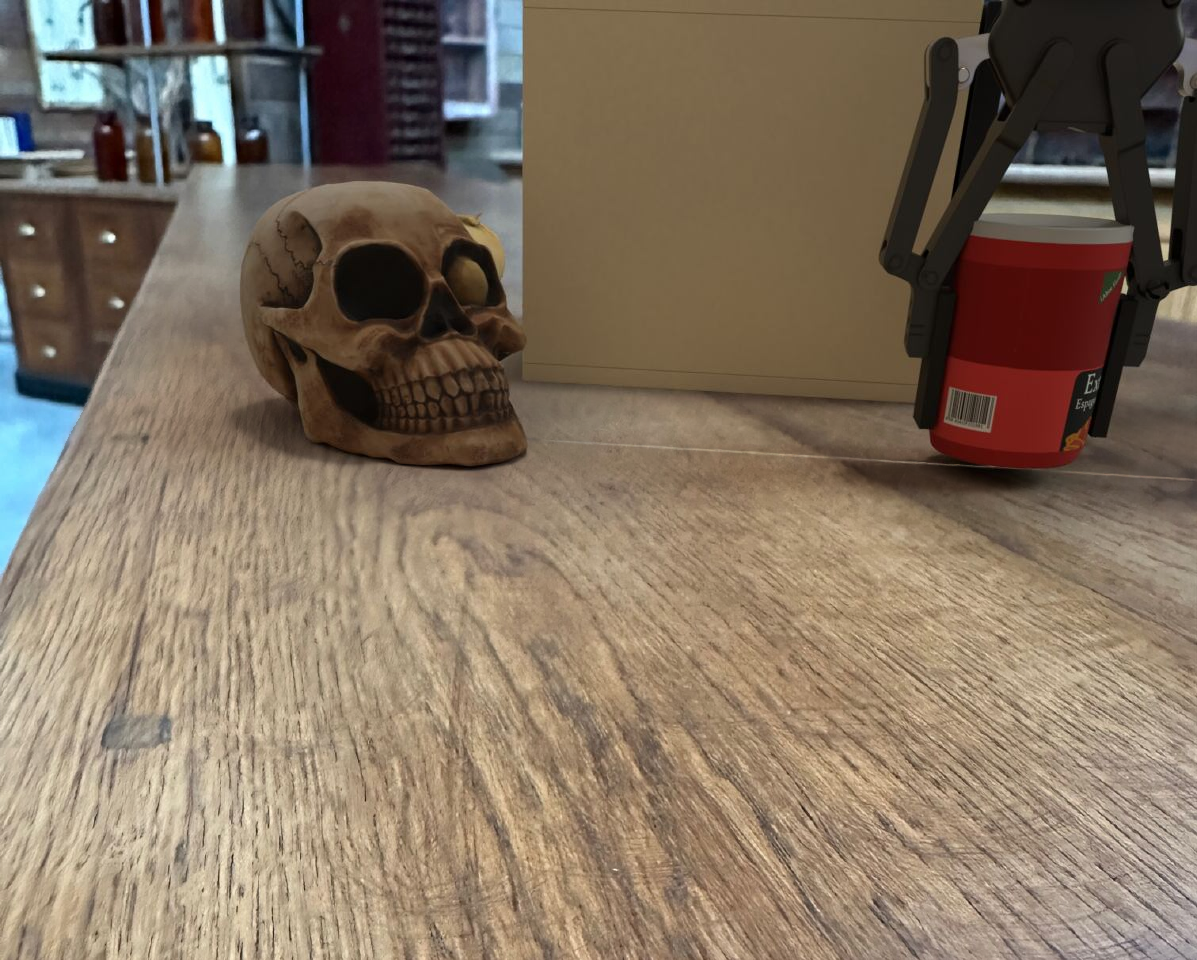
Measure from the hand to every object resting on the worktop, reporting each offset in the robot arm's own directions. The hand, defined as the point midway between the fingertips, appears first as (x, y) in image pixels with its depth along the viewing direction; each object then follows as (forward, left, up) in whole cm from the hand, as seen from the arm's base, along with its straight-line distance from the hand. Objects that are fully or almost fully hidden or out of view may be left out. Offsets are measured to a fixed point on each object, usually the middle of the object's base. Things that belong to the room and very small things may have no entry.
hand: (1007, 426), depth 62 cm
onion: (+40, -55, -3) cm, 68 cm away
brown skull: (+33, -2, -3) cm, 33 cm away
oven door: (-1, -30, -2) cm, 30 cm away
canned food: (0, 0, -1) cm, 1 cm away
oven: (+15, -30, -2) cm, 34 cm away
